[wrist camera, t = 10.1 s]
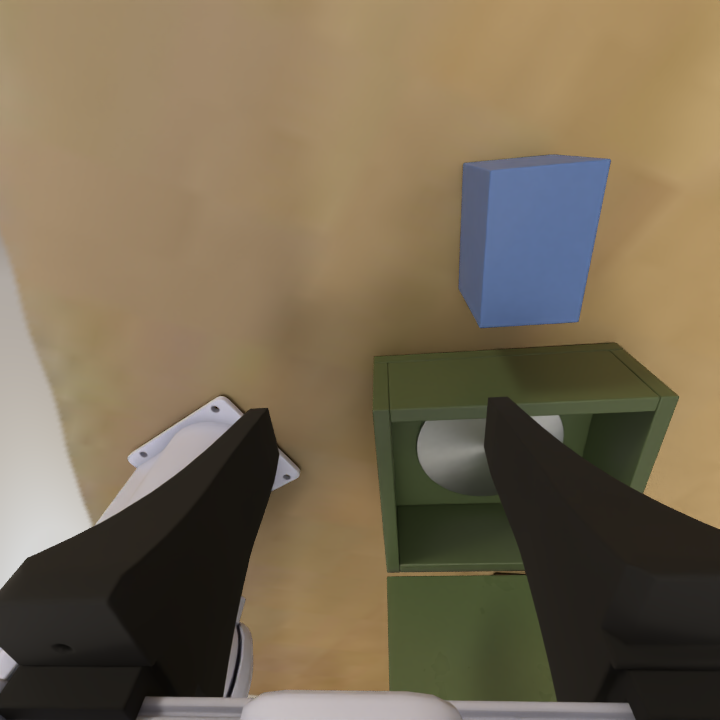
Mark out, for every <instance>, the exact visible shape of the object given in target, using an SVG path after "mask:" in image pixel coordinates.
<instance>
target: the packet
mask: <svg viewBox="0 0 720 720" xmlns="http://www.w3.org/2000/svg"><path fill="white" fill-rule="evenodd" d="M610 162H611V160H610V159H603V158H591V157H578V156H565V155H542V156H532V157H522V158H511V159H501V160H490V161H480V162H469V163H464V164H463V183H462V210H461V237H460V265H459V290H460V292H461V294H462V296H463V298H464V299H465V301H466V303H467V305H468V307H469V309H470V311H471V312H472V314H473V316H474V318H475V320H476V322H477V324H478V325H479V327H480V328H490V327H506V326H523V325H539V324H555V323H572V322H578V321H579V316H580V311H581V306H582V301H583V296H584V291H585V286H586V281H587V276H588V272H589V267H590V262H591V257H592V252H593V247H594V242H595V237H596V232H597V227H598V222H599V217H600V212H601V207H602V202H603V197H604V192H605V187H606V182H607V177H608V172H609V167H610Z"/></svg>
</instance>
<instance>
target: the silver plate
mask: <svg viewBox="0 0 720 720" xmlns="http://www.w3.org/2000/svg"><path fill="white" fill-rule="evenodd" d="M530 417H532V418H533V419H534V420H535V421H536V422H537V423H538V424H540V425H541V426H542V427H543V428H544V429H546V430H547V431H548V432H549V433H551V434H552V435H553V436H554V437H556V438H557V439H558V440H559V441H561V442H562V443H563V439H564V428H563V424H562V421H561V418H560V416H559V415H552V416H530ZM485 426H486V418H483V419H460V420H437V421H423V423H422V425H421V427H420V429H419V432H418V436H417V443H416V448H417V456H418V459H419V463H420V465H421V467H422V469H423V470H424V471H425V473H426V474H427V475H428V476H429V477H430V478H431V479H432V480H433V481H434V482H435V483H437V484H438V485H440V486H442V487H443V488H445V489H448V490H450V491H453V492H456V493H459V494H464V495H470V496H493V495H498V493H497V490H496V488H495V485H494V482H493V480H492V477H491V474H490V470H489V466H488V463H487V458H486V454H485V450H484V438H485Z"/></svg>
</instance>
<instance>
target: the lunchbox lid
mask: <svg viewBox="0 0 720 720" xmlns="http://www.w3.org/2000/svg"><path fill="white" fill-rule="evenodd" d="M387 601H388V646H389V691H409V692H416V693H424V694H431V695H435V696H437V697H439V698H441V699H443V700H451V701H527V702H557V698H556V694H555V689H554V685H553V680H552V676H551V672H550V667H549V663H548V658H547V654H546V650H545V646H544V642H543V638H542V634H541V629H540V625H539V621H538V617H537V613H536V610H535V606H534V602H533V598H532V594H531V590H530V587H529V583H528V579H527V576H526V575H481V576H395V577H387Z"/></svg>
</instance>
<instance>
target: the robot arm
mask: <svg viewBox="0 0 720 720" xmlns="http://www.w3.org/2000/svg"><path fill="white" fill-rule="evenodd" d="M214 406H217V407H218V408H219V409H216V408H215V407H214ZM484 450H485V454H486V458H487V463H488V466H489V470H490V474H491V477H492V480H493V482H494V485H495V488H496V490H497V493H498V496H499V498H500V501H501V503H502V506H503V508H504V511H505V513H506V516H507V519H508V521H509V524H510V526H511V529H512V531H513V534H514V537H515V539H516V542H517V545H518V548H519V551H520V554H521V558H522V561H523V565H524V569H525V572H526V576H527V579H528V583H529V587H530V590H531V594H532V598H533V602H534V606H535V610H536V613H537V617H538V621H539V625H540V629H541V634H542V638H543V642H544V646H545V650H546V654H547V658H548V663H549V667H550V672H551V676H552V680H553V685H554V689H555V694H556V698H557V702H527V701H451V700H443V699H441V698H439V697H437V696H435V695H431V694H424V693H416V692H409V691H336V690H282V691H273V692H265V693H262V694H260V695H259V696H257V697H255V698H247V697H248V693H249V689H250V685H251V680H252V673H253V641H252V636H251V632H250V630H249V628H248V627H247V626H246V625H245V624H243V623H241V622H239V621H240V617H241V614H242V611H243V607H244V604H245V600H246V599H245V598H244V597H242V596H241V595H242V590H243V585H244V581H245V576H246V572H247V568H248V563H249V559H250V555H251V552H252V548H253V545H254V541H255V538H256V536H257V533H258V530H259V527H260V524H261V521H262V518H263V515H264V512H265V509H266V506H267V503H268V500H269V497H270V494H271V491H273V490H275V489H277V488H279V487H281V486H283V485H285V484H287V483H289V482H291V481H293V480H295V479H297V478H298V477H299V475H300V469H299V468H298V467H297V466H296V465H295V464H294V463H293V462H292V461H291V460H290V459H289V458H288V457H287V456H286V455H285V454H284V453H283V452H282V451H281V450H280V449H279V448H278V446H277V442H276V438H275V434H274V430H273V426H272V422H271V418H270V414H269V410H268V408H256V409H250V410H248V411H247V412H246V413H245V414H243V413H242V412H241V411H240V410H239V409H238V408H237V407H236V406H235V405H234V404H233V403H232V402H231V401H230V400H229V399H228V398H226V397H224V396H219V397H217V398H215V399H214V400H212V401H210V402H209V403H207V404H206V405H204V406H203V407H201V408H200V409H198V410H196V411H195V412H193V413H192V414H190V415H189V416H187V417H186V418H184V419H183V420H181V421H179V422H178V423H176V424H175V425H173V426H172V427H170V428H169V429H167V430H166V431H164V432H162V433H161V434H159V435H158V436H156V437H155V438H153V439H152V440H150V441H148V442H147V443H145V444H144V445H142V446H141V447H139V448H138V449H136V450H135V451H133V452H131V454H130V455H129V456H128V461H129V462H130V463H131V464H132V465H133V466H135V467H136V468H137V469H136V470H135V471H134V473H133V474H132V476H131V477H130V478H129V480H128V481H127V482H126V484H125V485H124V486H123V488H122V489H121V490H120V492H119V493H118V494H117V496H116V497H115V498H114V500H113V501H112V503H111V504H110V505H109V507H108V508H107V509H106V511H105V512H104V513H103V515H102V516H101V517H100V519H99V520H98V521H97V523H96V524H95V525H94V526H93V527H91V528H89V529H88V530H86V531H84V532H82V533H80V534H78V535H76V536H74V537H72V538H70V539H68V540H65V541H64V542H61V543H59V544H57V545H55V546H53V547H50V548H48V549H46V550H44V551H42V552H40V553H38V554H36V555H33V556H31V557H28V558H27V559H26V560H25V561H24V563H23V564H22V565H21V566H20V567H19V568H18V570H17V571H16V572H15V573H14V574H13V575H12V577H11V578H10V579H9V580H8V581H7V583H6V584H5V585H4V586H3V587H2V588H1V590H0V720H720V529H717V528H715V527H712V526H710V525H707V524H705V523H703V522H700V521H698V520H696V519H694V518H692V517H689V516H687V515H685V514H683V513H681V512H678V511H676V510H674V509H672V508H670V507H668V506H666V505H664V504H662V503H660V502H658V501H656V500H654V499H652V498H650V497H648V496H646V495H644V494H642V493H640V492H639V491H637V490H635V489H633V488H631V487H629V486H627V485H626V484H624V483H622V482H620V481H619V480H617V479H615V478H614V477H612V476H610V475H609V474H607V473H606V472H604V471H602V470H601V469H599V468H598V467H596V466H594V465H593V464H591V463H590V462H588V461H587V460H585V459H584V458H582V457H581V456H580V455H578V454H577V453H576V452H574V451H573V450H571V449H570V448H569V447H567V446H566V445H565V444H563V443H562V442H561V441H559V440H558V439H557V438H556V437H554V436H553V435H552V434H551V433H549V432H548V431H547V430H546V429H544V428H543V427H542V426H541V425H540V424H538V423H537V422H536V421H535V420H534V419H533V418H532V417H530V416H529V415H528V414H527V413H526V412H525V411H524V410H522V409H521V408H520V407H519V406H518V405H517V404H516V403H515V402H513V401H512V400H511V399H510V398H509V397H488V403H487V415H486V426H485V438H484ZM286 474H287V475H289V476H287V475H286Z"/></svg>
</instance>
